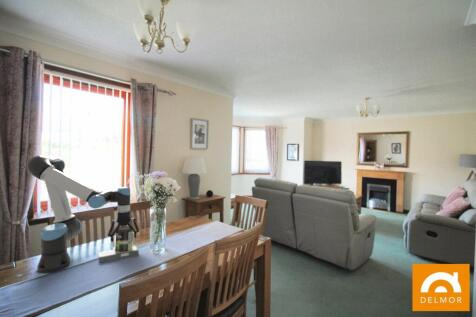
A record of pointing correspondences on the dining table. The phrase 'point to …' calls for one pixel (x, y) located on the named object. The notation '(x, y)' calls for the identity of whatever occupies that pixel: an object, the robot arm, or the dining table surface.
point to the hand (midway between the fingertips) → (123, 244)
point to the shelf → (117, 254)
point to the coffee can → (123, 239)
